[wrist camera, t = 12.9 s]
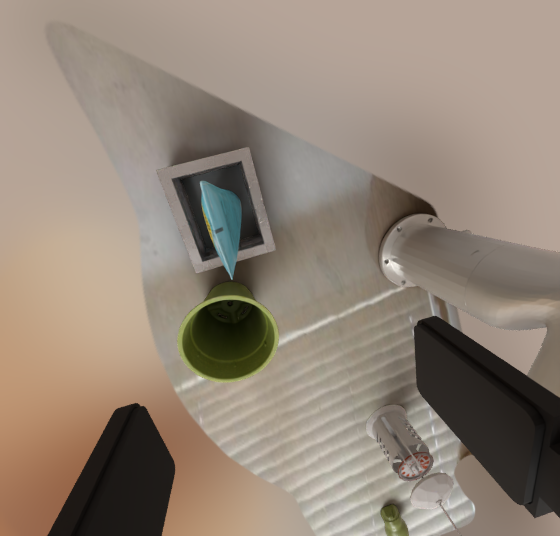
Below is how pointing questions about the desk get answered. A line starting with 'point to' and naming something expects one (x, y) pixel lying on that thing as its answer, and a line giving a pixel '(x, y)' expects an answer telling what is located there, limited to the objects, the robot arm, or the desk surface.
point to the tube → (222, 222)
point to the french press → (409, 457)
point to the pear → (393, 522)
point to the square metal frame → (187, 221)
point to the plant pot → (228, 335)
